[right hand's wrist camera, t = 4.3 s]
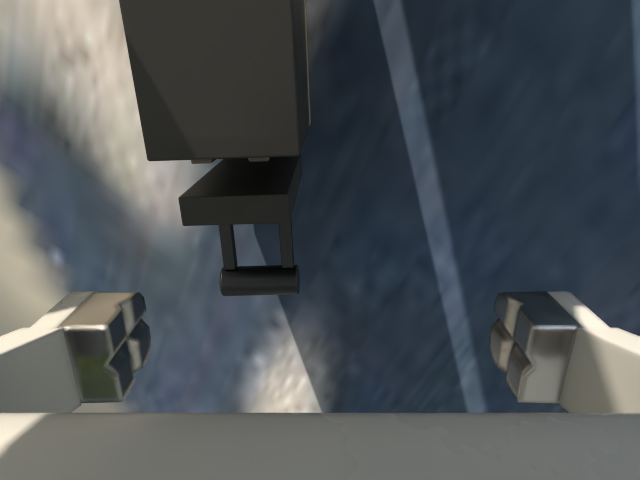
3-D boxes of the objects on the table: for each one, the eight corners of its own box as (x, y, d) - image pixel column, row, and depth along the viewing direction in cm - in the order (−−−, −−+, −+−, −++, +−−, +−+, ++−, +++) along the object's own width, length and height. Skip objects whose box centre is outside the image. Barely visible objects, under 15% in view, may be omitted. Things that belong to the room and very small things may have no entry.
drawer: (306, 258, 28) (296, 337, 19) (237, 260, 28) (200, 340, 20) (279, -261, 19) (241, -513, 11) (179, -255, 19) (67, -501, 11)
